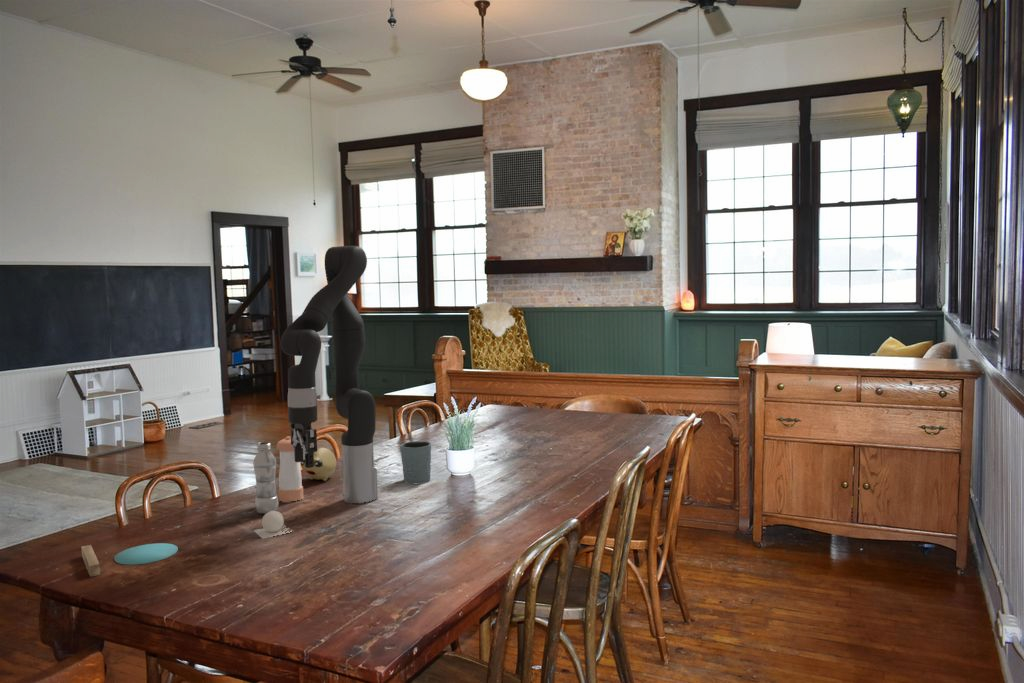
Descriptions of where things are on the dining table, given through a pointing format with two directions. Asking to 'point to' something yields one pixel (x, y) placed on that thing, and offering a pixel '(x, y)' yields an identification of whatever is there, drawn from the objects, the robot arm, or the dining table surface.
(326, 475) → the yellow plush toy
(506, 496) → the dining table surface
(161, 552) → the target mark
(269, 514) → the ball
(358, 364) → the robot arm
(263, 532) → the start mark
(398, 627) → the dining table surface
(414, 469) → the dark grey pot
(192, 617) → the dining table surface
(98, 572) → the bar
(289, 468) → the pepper shaker
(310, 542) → the dining table surface
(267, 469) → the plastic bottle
